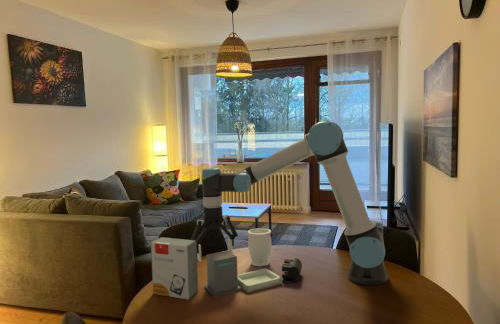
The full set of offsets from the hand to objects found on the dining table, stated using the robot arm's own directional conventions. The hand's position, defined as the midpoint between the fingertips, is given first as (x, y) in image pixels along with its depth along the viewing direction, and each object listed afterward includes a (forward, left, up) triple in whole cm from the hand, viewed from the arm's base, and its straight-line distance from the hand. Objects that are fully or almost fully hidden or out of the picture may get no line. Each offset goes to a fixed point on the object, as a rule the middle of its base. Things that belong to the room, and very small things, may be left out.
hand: (215, 257), depth 153 cm
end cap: (-17, -26, -9) cm, 32 cm away
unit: (-12, +2, -8) cm, 15 cm away
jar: (+4, -23, -9) cm, 25 cm away
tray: (-14, -12, -8) cm, 20 cm away
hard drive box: (-6, +19, -9) cm, 21 cm away
